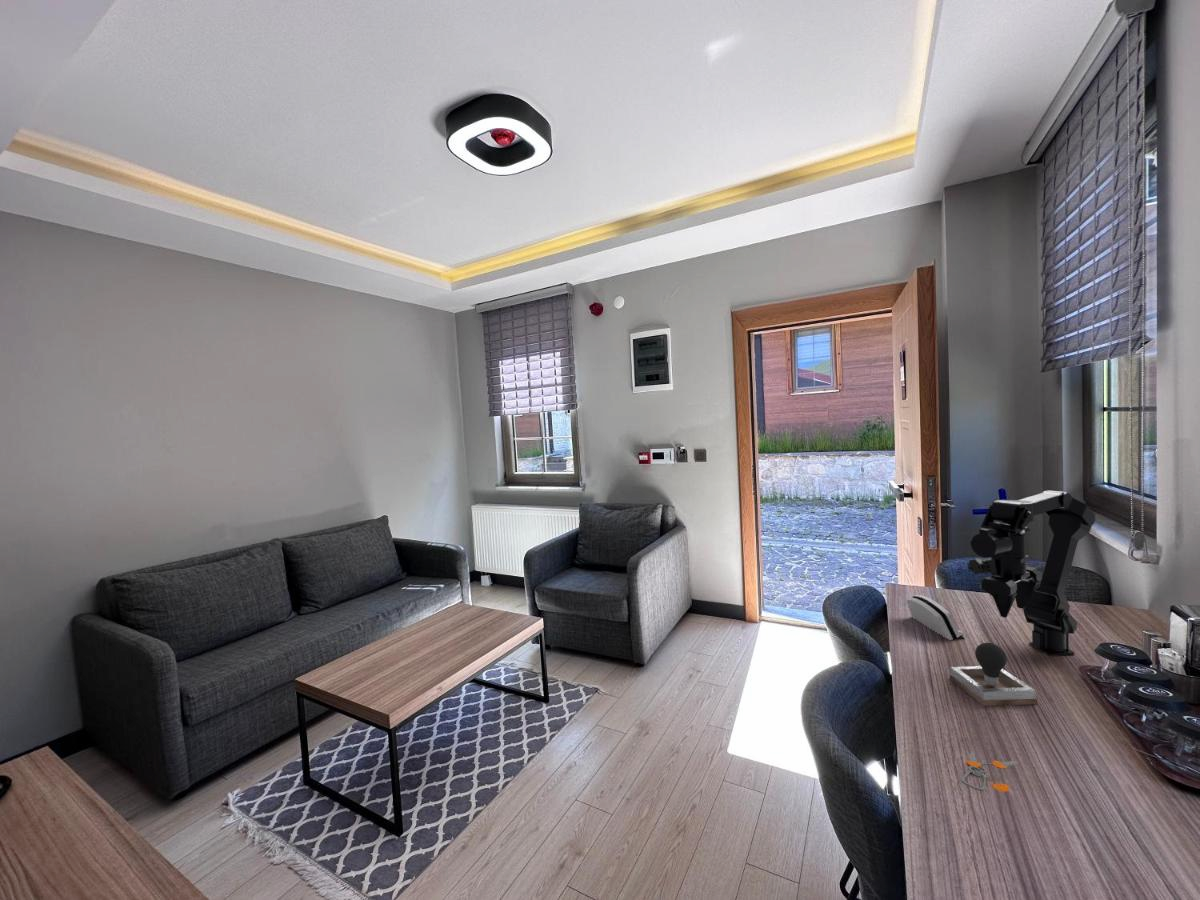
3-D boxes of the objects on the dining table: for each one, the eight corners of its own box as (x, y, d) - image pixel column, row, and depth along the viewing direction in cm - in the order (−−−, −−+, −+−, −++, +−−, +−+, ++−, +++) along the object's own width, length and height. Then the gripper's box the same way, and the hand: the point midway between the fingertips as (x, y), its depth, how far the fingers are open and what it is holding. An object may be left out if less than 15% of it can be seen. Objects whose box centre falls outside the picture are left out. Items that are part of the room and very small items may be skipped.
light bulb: (990, 693, 108) (988, 650, 108) (969, 680, 114) (968, 639, 113) (1014, 691, 108) (1013, 648, 108) (992, 678, 114) (991, 637, 114)
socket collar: (997, 673, 116) (997, 665, 116) (1035, 699, 105) (1035, 690, 105) (950, 675, 117) (950, 667, 117) (983, 700, 106) (983, 691, 106)
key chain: (1006, 803, 80) (1006, 799, 80) (953, 781, 86) (953, 776, 86) (1022, 765, 88) (1021, 760, 88) (972, 746, 94) (972, 742, 94)
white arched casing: (966, 639, 136) (953, 607, 135) (951, 645, 136) (938, 613, 135) (927, 615, 152) (915, 587, 152) (913, 621, 153) (901, 593, 152)
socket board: (998, 677, 116) (997, 673, 116) (1037, 704, 105) (1037, 699, 105) (949, 678, 117) (949, 674, 117) (983, 705, 106) (983, 701, 106)
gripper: (990, 539, 132) (991, 595, 133) (955, 551, 123) (956, 611, 124) (1042, 546, 123) (1043, 607, 123) (1008, 561, 113) (1010, 626, 114)
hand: (1012, 612), depth 121 cm, fingers open, 9 cm apart
